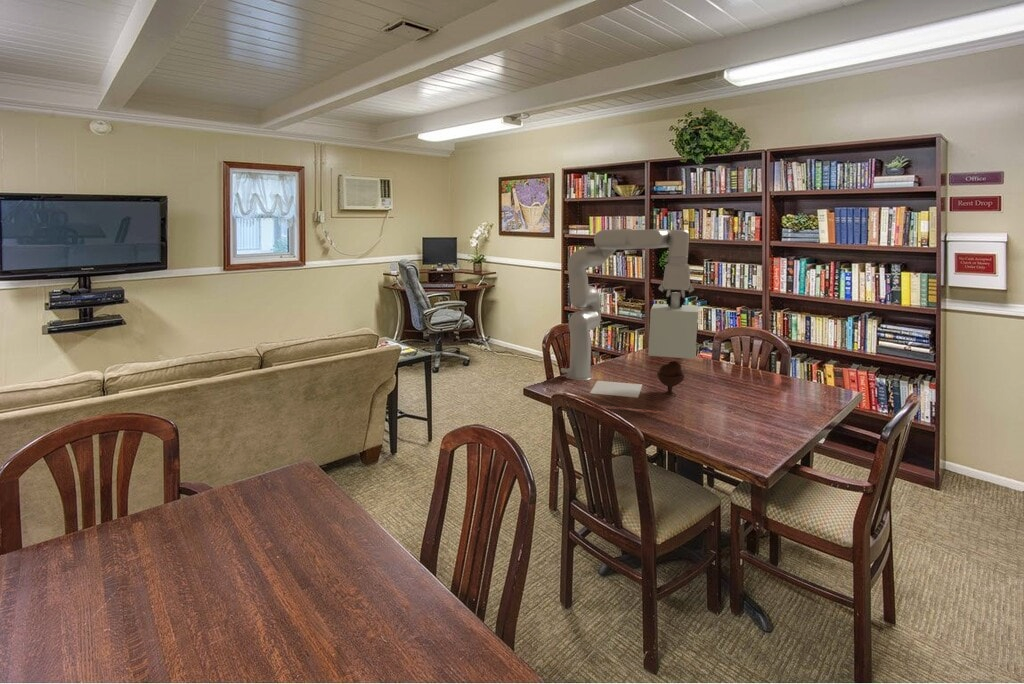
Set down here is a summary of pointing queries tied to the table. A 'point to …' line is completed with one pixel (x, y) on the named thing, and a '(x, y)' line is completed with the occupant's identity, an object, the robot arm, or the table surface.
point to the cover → (673, 329)
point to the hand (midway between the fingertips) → (675, 306)
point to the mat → (617, 389)
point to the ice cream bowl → (670, 375)
